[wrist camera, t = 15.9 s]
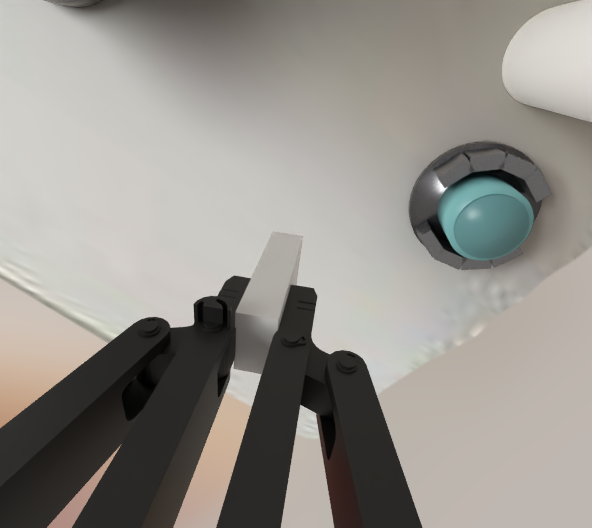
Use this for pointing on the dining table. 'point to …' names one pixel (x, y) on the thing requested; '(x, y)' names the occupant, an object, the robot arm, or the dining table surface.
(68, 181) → the dining table surface
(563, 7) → the cup
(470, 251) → the cap
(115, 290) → the dining table surface
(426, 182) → the dark grey round bowl
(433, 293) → the dining table surface
